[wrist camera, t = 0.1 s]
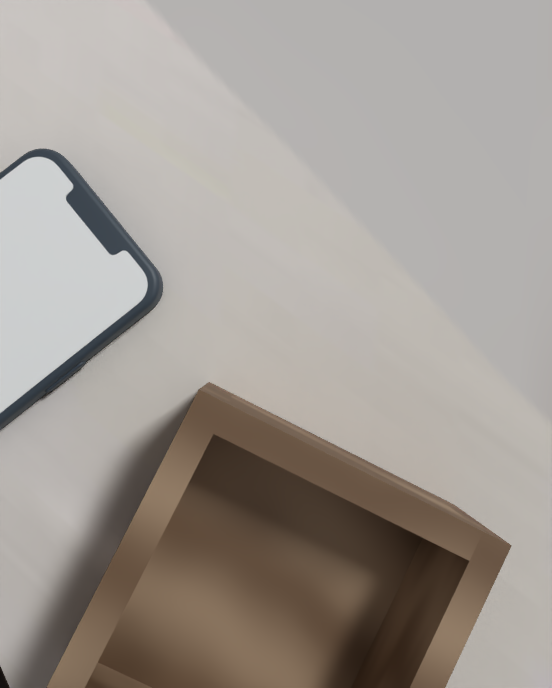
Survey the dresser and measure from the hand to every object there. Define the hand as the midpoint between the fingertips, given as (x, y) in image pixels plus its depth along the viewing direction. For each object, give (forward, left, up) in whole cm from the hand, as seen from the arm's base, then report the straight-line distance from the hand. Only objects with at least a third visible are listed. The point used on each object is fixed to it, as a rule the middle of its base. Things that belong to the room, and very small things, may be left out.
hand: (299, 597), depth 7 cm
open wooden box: (-6, -3, -15) cm, 17 cm away
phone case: (-1, +14, -16) cm, 21 cm away
